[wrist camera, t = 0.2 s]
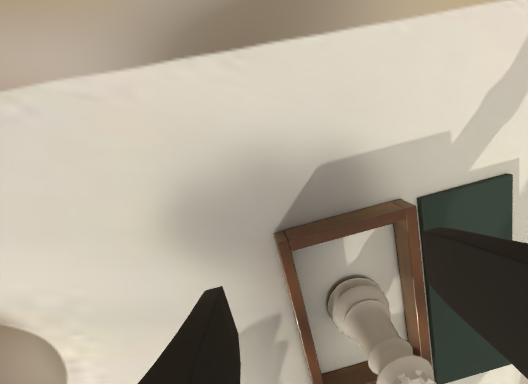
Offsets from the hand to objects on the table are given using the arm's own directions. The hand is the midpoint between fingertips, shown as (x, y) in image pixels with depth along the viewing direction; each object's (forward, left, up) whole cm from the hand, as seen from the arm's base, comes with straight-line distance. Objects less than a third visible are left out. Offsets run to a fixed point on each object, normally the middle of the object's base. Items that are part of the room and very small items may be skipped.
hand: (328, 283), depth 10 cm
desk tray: (-9, -4, -10) cm, 14 cm away
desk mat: (-11, -13, -10) cm, 20 cm away
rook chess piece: (-9, -4, -10) cm, 14 cm away
